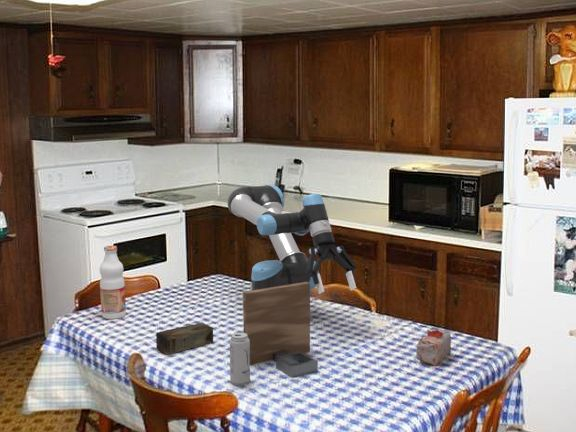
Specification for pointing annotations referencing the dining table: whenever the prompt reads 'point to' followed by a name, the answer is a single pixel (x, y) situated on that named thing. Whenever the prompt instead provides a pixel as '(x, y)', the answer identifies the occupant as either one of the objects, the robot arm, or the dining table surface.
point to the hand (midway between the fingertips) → (337, 291)
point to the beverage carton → (184, 338)
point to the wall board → (277, 320)
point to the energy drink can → (239, 359)
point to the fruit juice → (112, 285)
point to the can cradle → (295, 363)
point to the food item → (434, 347)
